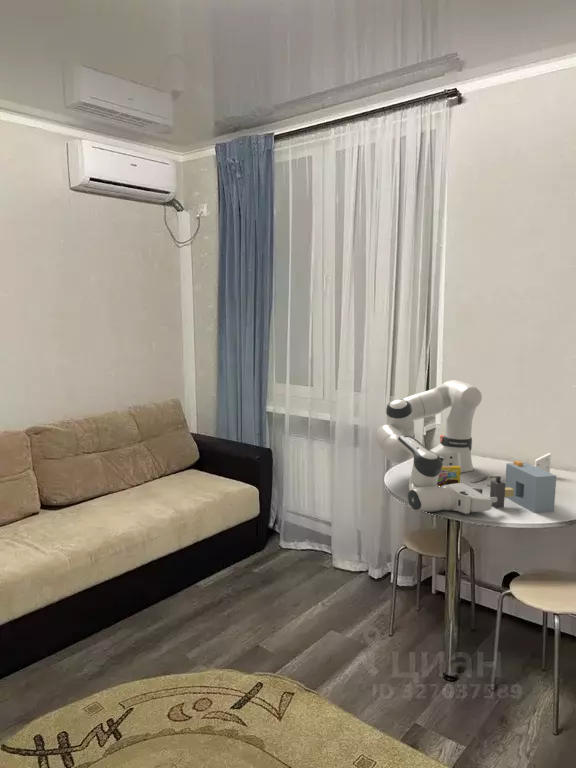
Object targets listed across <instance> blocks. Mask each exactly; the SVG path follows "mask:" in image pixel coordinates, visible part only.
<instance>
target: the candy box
mask: <svg viewBox="0 0 576 768" xmlns="http://www.w3.org/2000/svg"><path fill="white" fill-rule="evenodd" d="M460 471H461V467H460V466H442V468H441V471H440V473H439V477H438V481H437V485H438V486H443V485H449V484H455V483H461V473H460Z"/></svg>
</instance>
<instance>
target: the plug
mask: <svg viewBox="0 0 576 768" xmlns="http://www.w3.org/2000/svg"><path fill="white" fill-rule="evenodd" d="M501 479H502V477H501V476H499V475H497V476H495V480H491V481H490V491H489V492H490V493H489V498H490V497H491V496H495V497H497V502H493V503H492V507H491V508H494V509H501V508H505V498H506V497H512V496H514V489H512V488H510V487H507V488H505V481H501Z"/></svg>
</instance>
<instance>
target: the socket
mask: <svg viewBox="0 0 576 768" xmlns="http://www.w3.org/2000/svg"><path fill="white" fill-rule="evenodd" d="M505 465H506V466H505V481H504V483H505V488H507V487H510V488H512V489H514V496H512V497H505V498H507V499H508V500H509V501H511V502H514V503H516V504H517V505H519V506H521V507H523V508H524V509H526V510H529V511H531V512H532V513H535V514H536V513H547V512H554V511H555V503H556V502H555V501H556V488H557V475H556V474H553V473H551V472H550V473H549V472H547V471H544V470H542V469H539V468H537V467H535V465H532V464H530V463H527V462H523V461H519V460H513V462H511V463H510V462H509V463H506V464H505Z"/></svg>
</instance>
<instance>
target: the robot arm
mask: <svg viewBox="0 0 576 768" xmlns="http://www.w3.org/2000/svg"><path fill="white" fill-rule="evenodd" d="M482 397H483V396H482V392H481V390H480V389H478V387H476V386H475V385H474V384H472V383H468V382H466V381H465V382H464V381H461V380H458V379H450V380H447V381H445V382H443V383H442V384H440V385H437V386H436V387H434V388H432V389H428V390H425V391H422V392H419V393H415V394H412V395H409V396H407V397H404V398H396V399H392V400H391V401H389V403H388V404H386V408H385V409H386V411H385V414H386V424H384V425H381V426H380V427H379V428H377V431H376V433H375V438H376V443H377V444H378V447H379V448H380V450H381V452H382V453H383V455H384V456H385V458H386V459H387V460H388V461H390V462H392V463H395V464H399V463H400V464H401V463H404V462H407V461H408V460H409V459H410V458H411V457H413V463H412V468H411V473H410V477H409V482H408V494H407V500H408V504H409V506H410V507H411V509H412V510H414V511H418V512H423V513H424V512H426V513H427V512H428V513H429V512H439V511H442V510H444V511H455V512H458V513H463V514H465V515H466V514H470V513H471V512H472V513H473V512H475V513H477V512H484V511H485V512H487V511H490V510H491V509H492V508H493V507H492V503H493V502H497V497H495V496H491V497H490V496H486V495H484V494H483V492H484V491H483V490H484V489H482V488H481V487H472V486H469V485H467V484H465V483H464V482H463V483H462V482H460V483H455V484H449V485H443V486H440V487H439V486H438V485H437V481H438V477H439V473H440V471H441V468H442V466H460V467H461V471H460V474H462V473H465V472H467V473H468V472H471V471H473V470H474V467H473V460H472V447H473V438H472V428H473V427H472V426H473V419H474V416H475V412H476V409H477V407H478V406H479V405H480V404H481V402H482ZM447 408H450V411H449V412H450V413H449V414H448V416H447V417H446V420H445V434H441V435H440V436H439V442H440V443H439V444H438V445H437V446H435V447H433V448H431V449H428V448H427V447H426V446H425V445H424V444H423V443H421V442H420V441H419V440H417V439H416V438H415V421H417V420H421V419H425V418H428V417H432V416H436V415H438V414H441V413H442V412H443V411H444V410H446V409H447Z"/></svg>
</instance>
